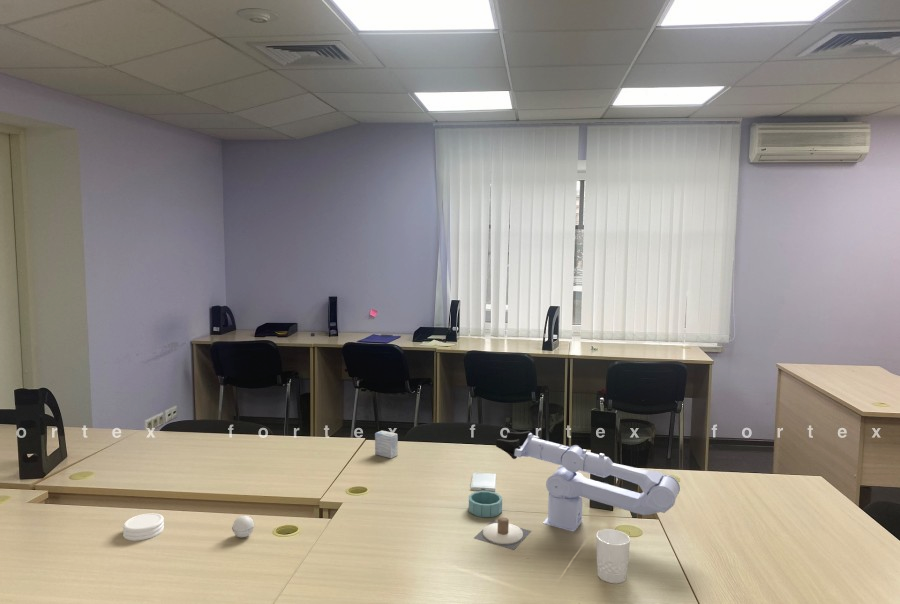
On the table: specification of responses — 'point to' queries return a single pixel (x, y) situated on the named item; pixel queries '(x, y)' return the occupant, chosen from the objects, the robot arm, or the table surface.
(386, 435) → the medicine box
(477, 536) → the mat
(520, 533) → the lid
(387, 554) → the table surface
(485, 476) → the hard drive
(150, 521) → the coaster
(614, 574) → the white cup
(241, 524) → the white ball
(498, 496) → the bowl
